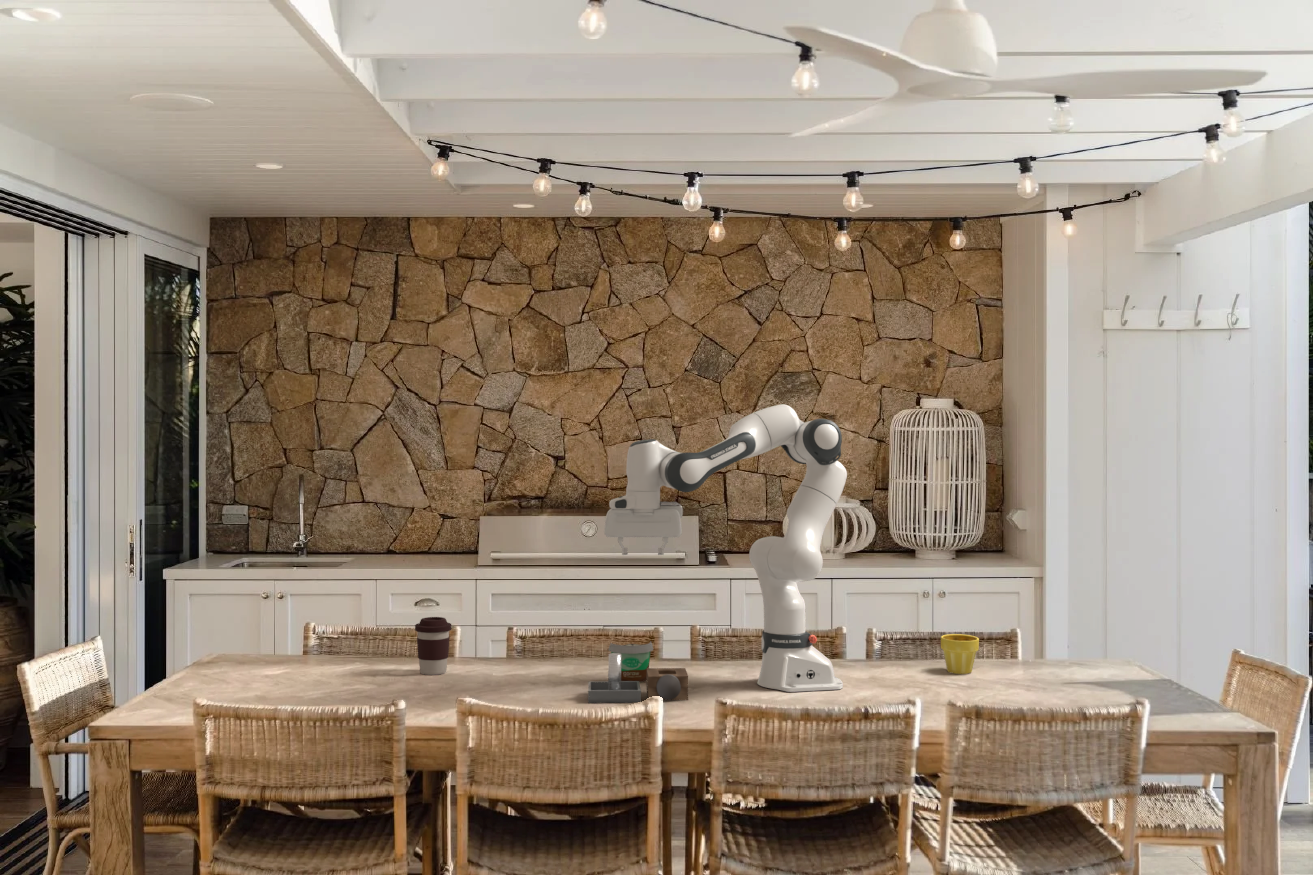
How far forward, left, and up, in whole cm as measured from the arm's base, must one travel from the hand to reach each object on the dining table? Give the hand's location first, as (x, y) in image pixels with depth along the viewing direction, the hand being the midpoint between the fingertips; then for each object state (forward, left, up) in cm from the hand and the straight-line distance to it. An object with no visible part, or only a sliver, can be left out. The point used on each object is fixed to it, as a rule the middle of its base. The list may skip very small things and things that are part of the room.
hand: (642, 554), depth 314 cm
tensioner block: (-6, +8, -35) cm, 36 cm away
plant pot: (-90, -19, -35) cm, 99 cm away
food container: (+2, -10, -35) cm, 37 cm away
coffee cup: (+57, -22, -35) cm, 71 cm away
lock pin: (+7, +10, -34) cm, 36 cm away
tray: (+7, +10, -35) cm, 37 cm away
